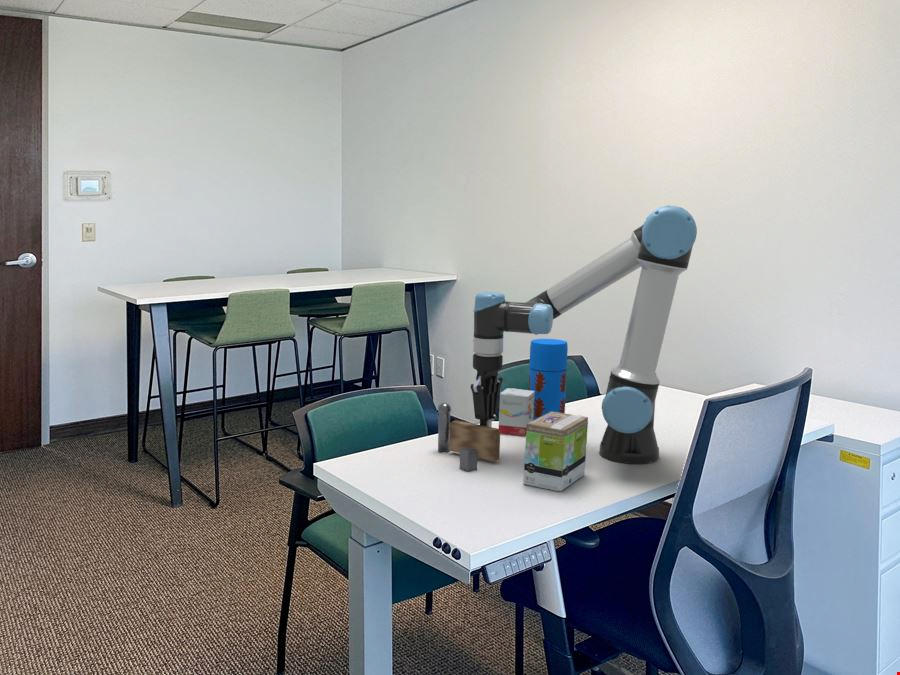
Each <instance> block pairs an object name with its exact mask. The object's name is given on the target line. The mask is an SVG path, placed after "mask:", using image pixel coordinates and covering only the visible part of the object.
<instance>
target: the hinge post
mask: <svg viewBox="0 0 900 675" xmlns="http://www.w3.org/2000/svg"><path fill="white" fill-rule="evenodd" d="M437 411H438V423H437V425H438V426H437V427H438V429H437V430H438V434H437V440H438V441H437V452H438V451H439V452H438V453H441V452H447V453H450V451H449V442H450V424H451V412H452V407H451V405H450V403H447V402H442V403H440V404H439V405H438V406H437Z"/></svg>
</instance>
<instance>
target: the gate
mask: <svg viewBox="0 0 900 675" xmlns="http://www.w3.org/2000/svg"><path fill="white" fill-rule="evenodd" d="M465 447H472V448H475V449H477V450H478V451H477V459H478V458H480V459H483V460H488V461H491V462H492V461H493V462H497V461H499V460H500V456H501V455H500V451H501V450H500V449H501V434H500V431H499V428H496V427H488V426H483V425H480V424H477V423H472V422H467V421H463V420H462V421H461V420H458V419H457V420H452V421H450V442H449V452H452V453H453V452H454V453H457V454H460V449H461V448H465Z"/></svg>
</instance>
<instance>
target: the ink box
mask: <svg viewBox="0 0 900 675" xmlns="http://www.w3.org/2000/svg"><path fill="white" fill-rule="evenodd" d="M534 397H535V391H530V390H529V389H521V388H520V389H519V388H513V387H512V388H511V387H510V388H509V387H507V388H505V389H504V390H503V391H500V394H499V406H498V409H499V410H498V429H499V431H500V435H508V434H512V435H511V436H517V435H518V437H526V429H527V423H529V422H531V421H533V415H534ZM501 433H502V434H501Z"/></svg>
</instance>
